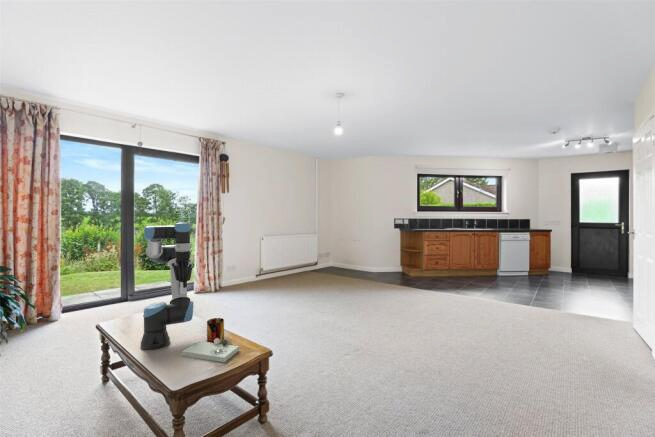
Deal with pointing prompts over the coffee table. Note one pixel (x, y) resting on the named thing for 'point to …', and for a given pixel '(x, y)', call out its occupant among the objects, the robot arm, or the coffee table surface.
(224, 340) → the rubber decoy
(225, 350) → the board
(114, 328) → the coffee table surface
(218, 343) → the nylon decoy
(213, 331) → the mug
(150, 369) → the coffee table surface
